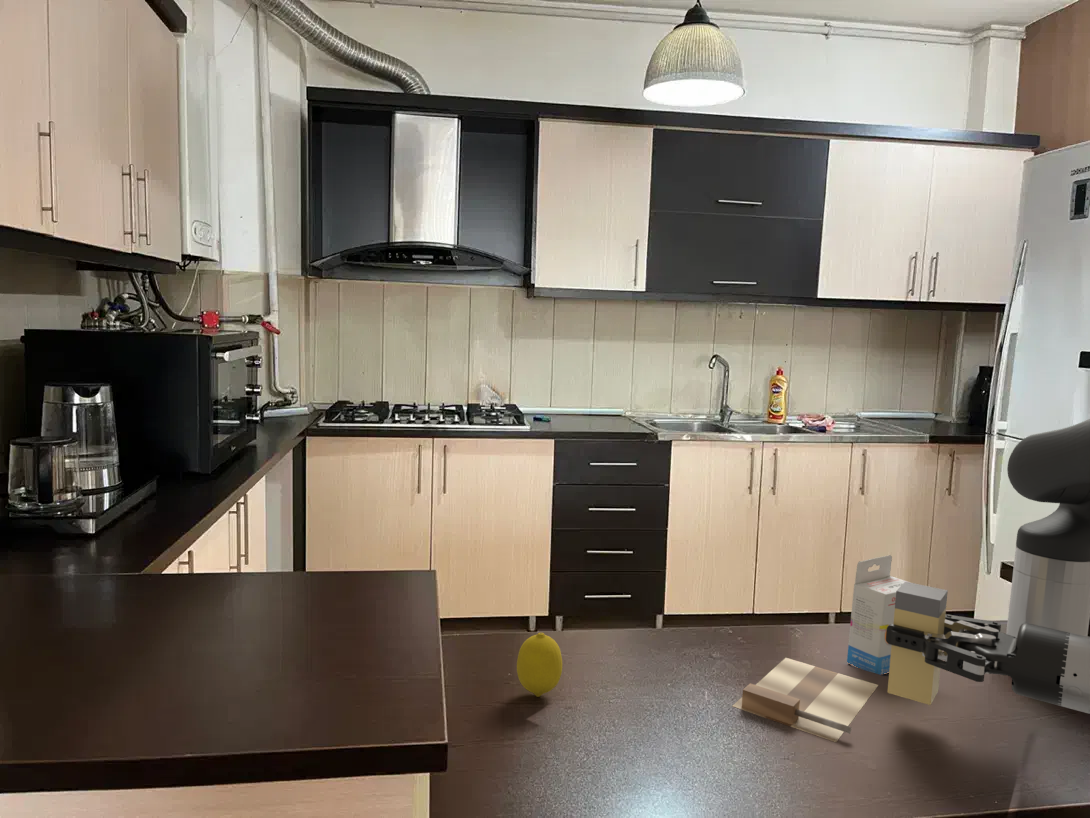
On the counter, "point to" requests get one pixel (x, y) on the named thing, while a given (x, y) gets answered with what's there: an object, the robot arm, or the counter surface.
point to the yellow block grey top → (908, 666)
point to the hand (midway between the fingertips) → (893, 626)
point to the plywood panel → (817, 695)
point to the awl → (781, 707)
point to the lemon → (539, 664)
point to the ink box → (872, 615)
